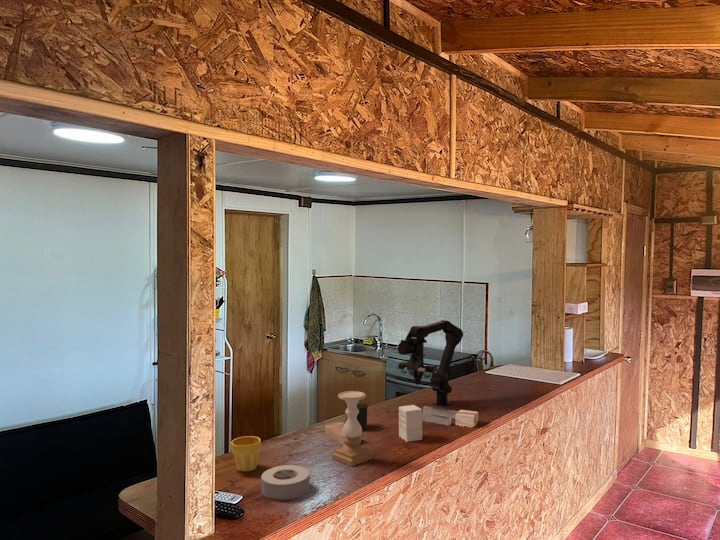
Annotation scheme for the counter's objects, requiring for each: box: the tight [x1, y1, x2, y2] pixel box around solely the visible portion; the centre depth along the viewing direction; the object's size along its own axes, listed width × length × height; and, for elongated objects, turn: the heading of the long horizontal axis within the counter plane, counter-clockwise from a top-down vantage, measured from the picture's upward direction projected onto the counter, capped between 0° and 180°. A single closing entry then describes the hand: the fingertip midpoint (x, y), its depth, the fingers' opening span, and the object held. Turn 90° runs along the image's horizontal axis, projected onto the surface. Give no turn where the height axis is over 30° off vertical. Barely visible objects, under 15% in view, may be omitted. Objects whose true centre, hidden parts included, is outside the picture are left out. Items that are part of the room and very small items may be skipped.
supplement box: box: [398, 404, 423, 443], centre depth 224 cm, size 7×7×13 cm
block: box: [454, 409, 479, 428], centre depth 242 cm, size 8×8×5 cm
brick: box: [325, 421, 362, 446], centre depth 224 cm, size 17×8×5 cm, turn 31°
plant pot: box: [230, 435, 262, 472], centre depth 193 cm, size 10×10×10 cm
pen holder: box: [345, 403, 369, 431], centre depth 238 cm, size 9×9×10 cm
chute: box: [422, 405, 460, 426], centre depth 250 cm, size 13×18×3 cm
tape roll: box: [260, 464, 311, 501], centre depth 176 cm, size 15×15×5 cm
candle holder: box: [331, 390, 373, 467], centre depth 202 cm, size 11×11×24 cm
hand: (417, 384), depth 265 cm, fingers closed
